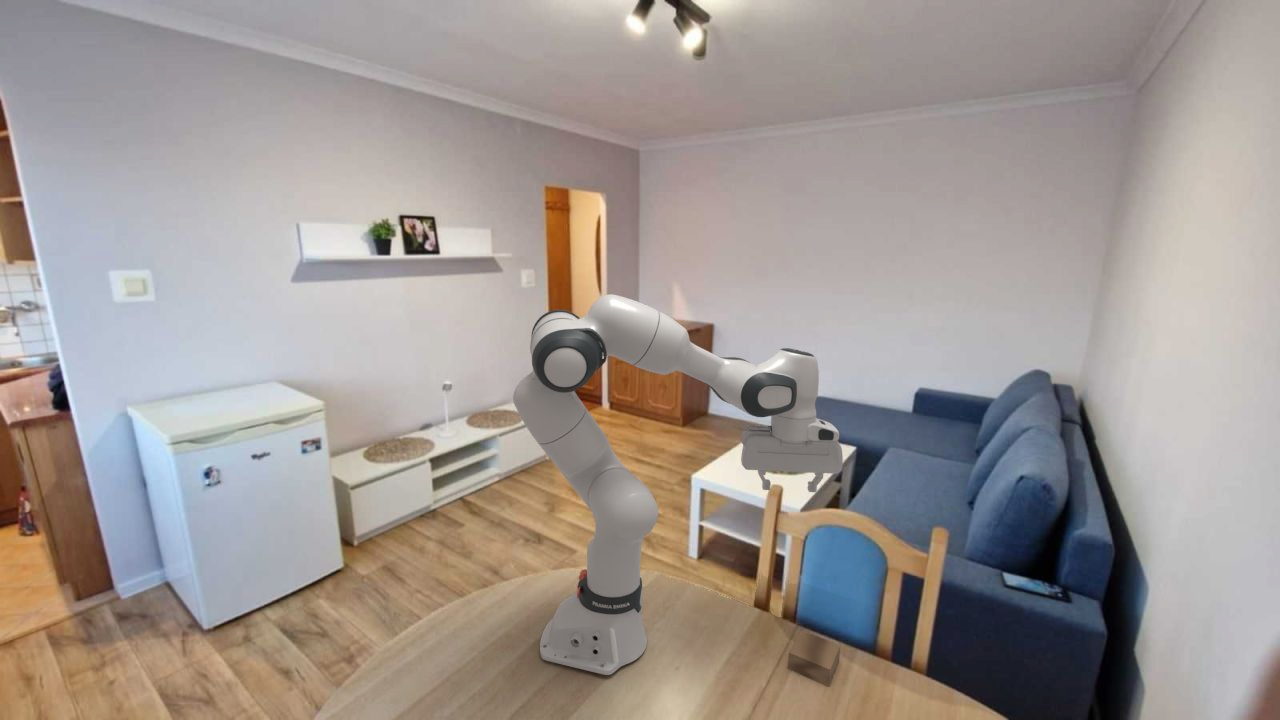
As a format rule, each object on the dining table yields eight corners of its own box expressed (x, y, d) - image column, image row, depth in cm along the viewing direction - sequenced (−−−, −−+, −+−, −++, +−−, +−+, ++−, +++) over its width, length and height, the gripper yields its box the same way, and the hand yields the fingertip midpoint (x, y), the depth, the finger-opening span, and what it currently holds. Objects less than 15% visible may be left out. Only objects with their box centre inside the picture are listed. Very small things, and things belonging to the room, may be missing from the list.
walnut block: (787, 670, 105) (788, 652, 105) (800, 646, 112) (801, 629, 111) (828, 688, 101) (830, 669, 100) (838, 662, 107) (840, 645, 107)
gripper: (743, 429, 106) (740, 494, 108) (847, 433, 104) (842, 499, 106) (740, 420, 112) (737, 481, 114) (839, 424, 110) (834, 486, 113)
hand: (788, 490), depth 110 cm, fingers open, 8 cm apart
